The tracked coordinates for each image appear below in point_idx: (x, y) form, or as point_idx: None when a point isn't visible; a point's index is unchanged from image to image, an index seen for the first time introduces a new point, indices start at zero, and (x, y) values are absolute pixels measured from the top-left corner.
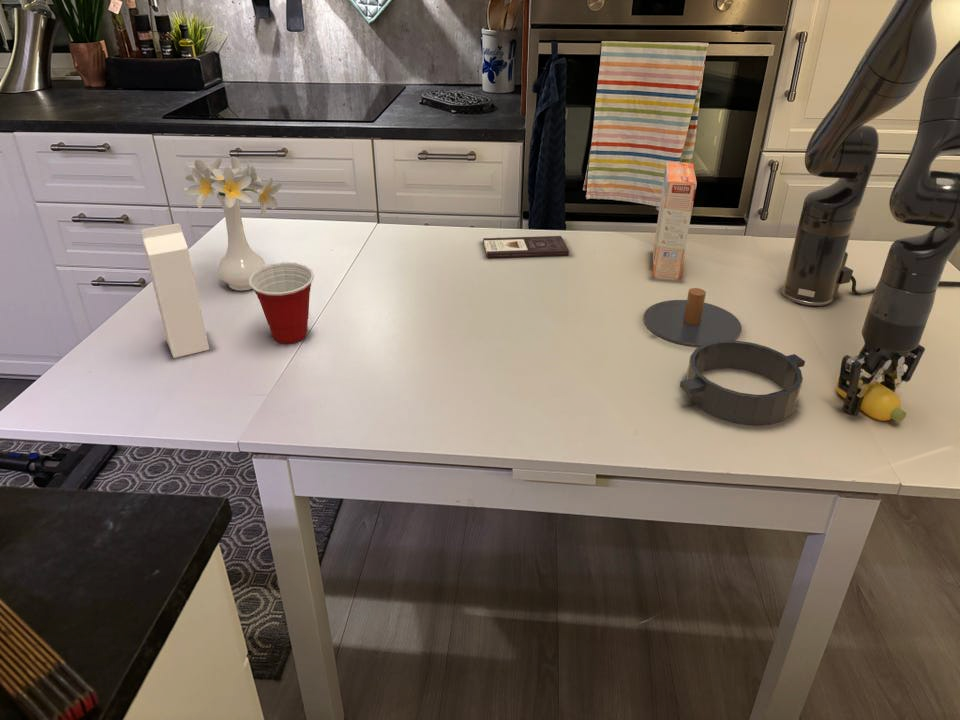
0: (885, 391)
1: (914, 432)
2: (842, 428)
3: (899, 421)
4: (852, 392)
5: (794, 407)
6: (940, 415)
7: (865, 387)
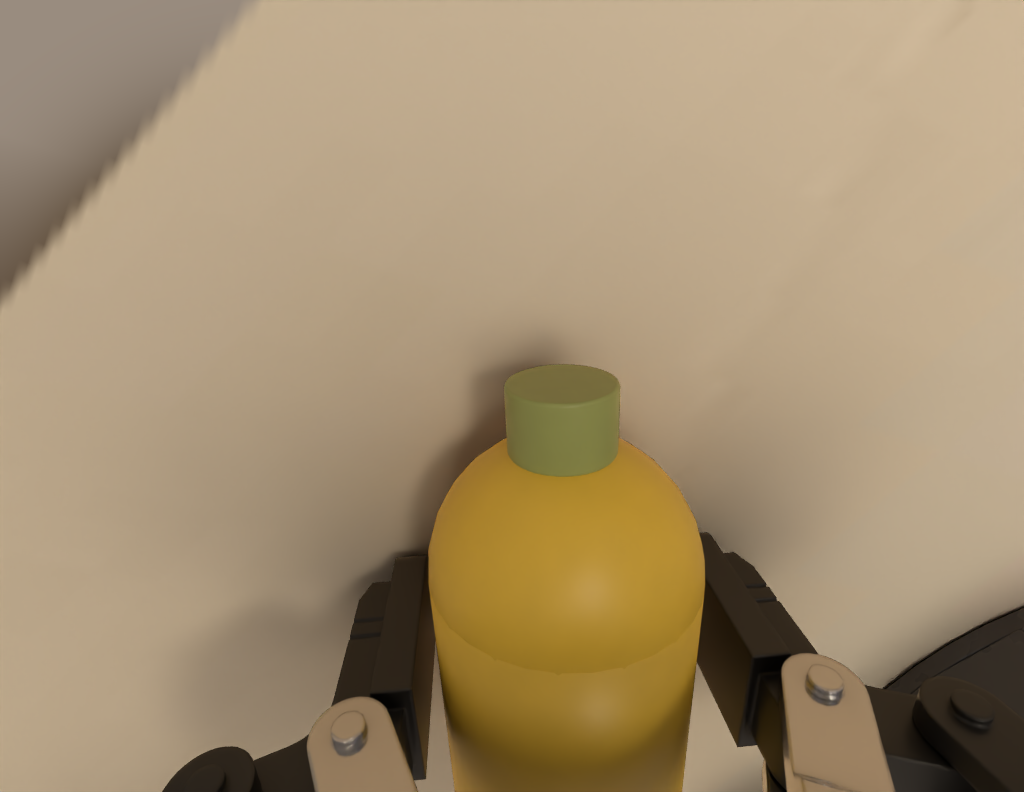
0: (617, 672)
1: (429, 276)
2: (851, 460)
3: (561, 364)
4: (1002, 719)
5: (971, 670)
6: (52, 388)
7: (847, 757)
